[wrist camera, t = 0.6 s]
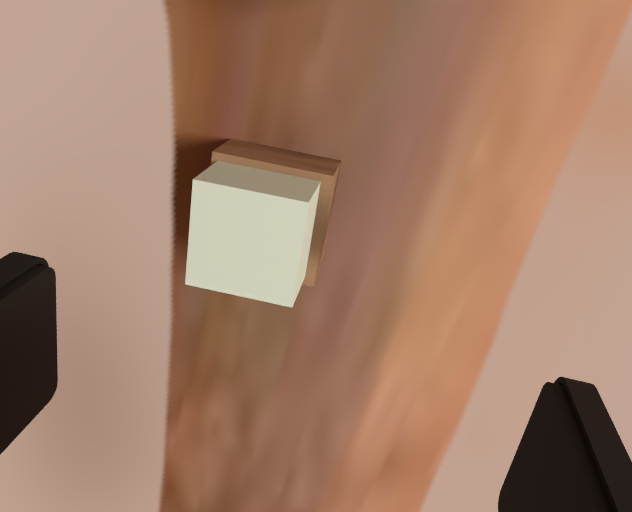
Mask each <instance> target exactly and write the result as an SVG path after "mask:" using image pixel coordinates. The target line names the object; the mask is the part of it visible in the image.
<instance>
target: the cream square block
mask: <svg viewBox="0 0 632 512" xmlns="http://www.w3.org/2000/svg"><path fill="white" fill-rule="evenodd" d="M320 183H321V181H317V180H312V179H307V178H302V177H297V176H291V175H286V174H281V173H276V172H271V171H266V170H261V169H256V168H251V167H246V166H241V165H236V164H231V163H226V162H221V161H217V162H215V163H214V164H213V165H211V166H210V167H209V168H207V169H206V170H205V171H203V172H202V173H200V174H199V175H198V176H196V177H195V178H194V179H193V183H192V197H191V211H190V225H189V239H188V253H187V267H186V281H185V284H186V285H191V286H196V287H200V288H205V289H209V290H214V291H219V292H223V293H228V294H232V295H237V296H242V297H246V298H251V299H255V300H260V301H265V302H269V303H274V304H278V305H283V306H288V307H293V304H294V302H295V299H296V297H297V295H298V292H299V290H300V288H301V285H302V283H303V281H304V278H305V274H306V268H307V262H308V256H309V250H310V244H311V238H312V232H313V226H314V220H315V214H316V208H317V202H318V195H319V189H320Z"/></svg>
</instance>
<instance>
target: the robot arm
mask: <svg viewBox="0 0 632 512" xmlns="http://www.w3.org/2000/svg"><path fill="white" fill-rule="evenodd" d="M56 327H57V325H56V276H55V271H54V269H52V268H50V267H49V266H48V263H47V261H46V260H45V259H44V258H40V257H35V256H31V255H27V254H23V253H18V252H12V253H9V254H8V255H6V256H4V257H3V258H1V259H0V454H1V453H2V452H3V451H4V450H5V449H6V448H7V447H8V446H9V445H10V443H11V442H12V441H13V440H14V439H15V438H16V437H17V436H18V435H19V434H20V433H21V432H22V430H23V429H24V428H25V427H26V426H27V425H28V424H29V423H30V422H31V421H32V420H33V419H34V418H35V416H36V415H37V414H38V413H39V412H40V411H41V410H42V409H43V408H44V407H45V406H46V404H47V403H48V402H49V401H50V400H51V398H52V397H53V395H54V393H55V391H56V388H57V381H58V377H57V329H56ZM498 512H632V462H631V460H630V458H629V455H628V453H627V452H626V449H625V447H624V445H623V443H622V441H621V439H620V437H619V435H618V432H617V430H616V428H615V426H614V424H613V422H612V420H611V418H610V416H609V414H608V412H607V409H606V407H605V405H604V403H603V401H602V399H601V397H600V395H599V393H598V391H597V389H596V387H595V386H594V385H593V384H590V383H586V382H582V381H577V380H573V379H569V378H564V377H559V378H558V379H557V380H556V381H555V382H554V383H550V382H547V383H545V385H544V386H543V388H542V390H541V392H540V395H539V397H538V400H537V402H536V405H535V407H534V410H533V412H532V415H531V417H530V419H529V422H528V425H527V427H526V429H525V432H524V434H523V437H522V439H521V442H520V444H519V446H518V449H517V452H516V454H515V456H514V459H513V461H512V464H511V466H510V469H509V471H508V474H507V476H506V478H505V481H504V484H503V486H502V488H501V491H500V495H499V501H498Z"/></svg>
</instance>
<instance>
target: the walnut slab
mask: <svg viewBox="0 0 632 512" xmlns="http://www.w3.org/2000/svg"><path fill="white" fill-rule="evenodd" d="M217 161H221V162H226V163H231V164H236V165H241V166H246V167H251V168H256V169H261V170H266V171H271V172H276V173H281V174H286V175H291V176H297V177H302V178H307V179H312V180H317V181H321V183H320V189H319V195H318V202H317V208H316V214H315V220H314V226H313V232H312V238H311V244H310V250H309V256H308V262H307V268H306V274H305V278H304V281H303V283H302V285H306V286H310V287H313V286H314V283H315V281H316V278H317V275H318V272H319V270H320V267H321V264H322V260H323V255H324V249H325V244H326V238H327V233H328V228H329V222H330V217H331V212H332V206H333V201H334V195H335V190H336V185H337V179H338V174H339V168H340V163H341V161H339V160H335V159H330V158H325V157H320V156H315V155H310V154H305V153H300V152H295V151H290V150H285V149H280V148H275V147H270V146H265V145H260V144H255V143H250V142H245V141H240V140H235V139H230V140H228V141H227V142H225V143H224V144H222V145H221V146H219V147H218V148H216V149H215V150H214V151H212V158H211V165H213V164H214V163H215V162H217Z"/></svg>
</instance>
